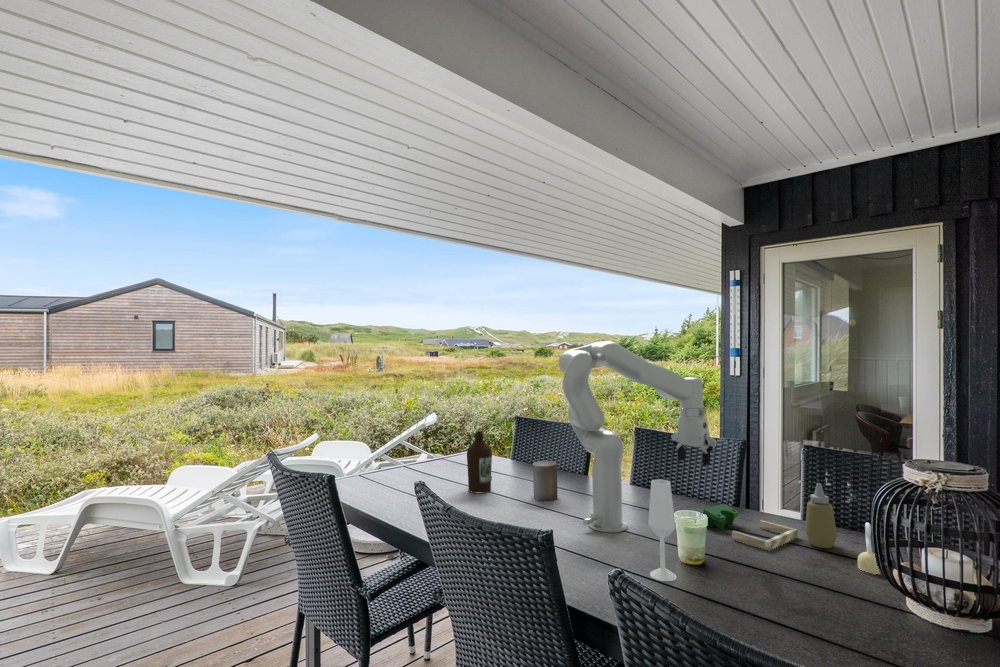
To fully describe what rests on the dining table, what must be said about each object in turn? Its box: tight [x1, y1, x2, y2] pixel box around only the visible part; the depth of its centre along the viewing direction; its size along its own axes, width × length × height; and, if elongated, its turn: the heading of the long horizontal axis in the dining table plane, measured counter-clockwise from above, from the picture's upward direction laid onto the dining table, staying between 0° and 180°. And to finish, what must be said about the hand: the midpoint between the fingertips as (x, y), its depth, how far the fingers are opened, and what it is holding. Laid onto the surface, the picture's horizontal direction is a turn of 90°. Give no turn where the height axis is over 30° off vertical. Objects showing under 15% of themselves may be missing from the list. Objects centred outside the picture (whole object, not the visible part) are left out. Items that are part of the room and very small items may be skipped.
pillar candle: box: [532, 460, 559, 502], centre depth 202 cm, size 10×10×15 cm
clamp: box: [702, 503, 739, 530], centre depth 167 cm, size 12×6×9 cm, turn 118°
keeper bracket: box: [731, 519, 799, 552], centre depth 155 cm, size 17×11×2 cm, turn 125°
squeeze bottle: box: [804, 482, 838, 549], centre depth 150 cm, size 8×8×18 cm
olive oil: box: [466, 429, 493, 493], centre depth 214 cm, size 11×11×25 cm
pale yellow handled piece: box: [857, 522, 881, 575], centre depth 133 cm, size 6×5×12 cm
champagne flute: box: [647, 479, 677, 582], centre depth 131 cm, size 7×7×24 cm
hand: (694, 462), depth 176 cm, fingers open, 9 cm apart
